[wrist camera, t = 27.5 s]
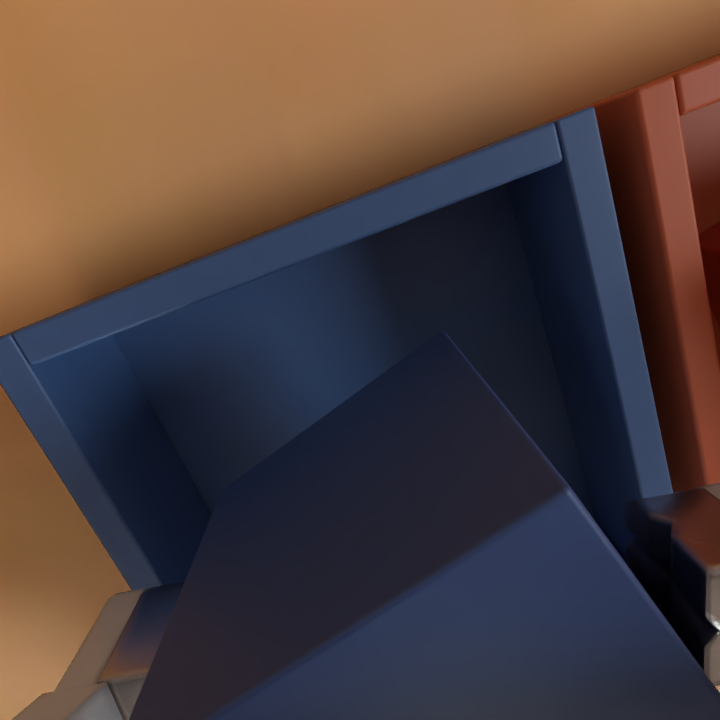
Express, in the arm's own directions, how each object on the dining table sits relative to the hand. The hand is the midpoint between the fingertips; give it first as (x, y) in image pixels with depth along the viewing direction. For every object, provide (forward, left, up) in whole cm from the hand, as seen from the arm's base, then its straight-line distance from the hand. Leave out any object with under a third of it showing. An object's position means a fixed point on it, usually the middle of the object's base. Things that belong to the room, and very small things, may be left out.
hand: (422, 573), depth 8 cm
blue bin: (0, 0, -5) cm, 5 cm away
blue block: (0, 0, -2) cm, 2 cm away
